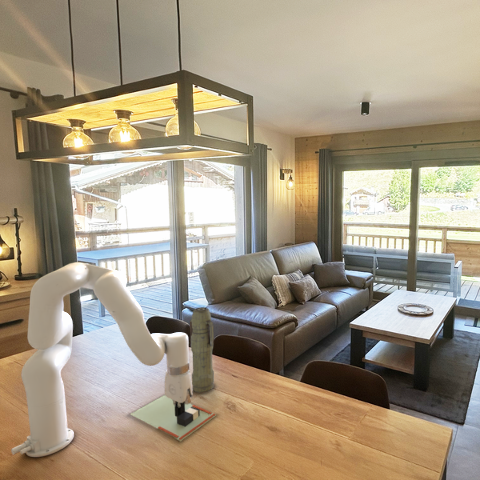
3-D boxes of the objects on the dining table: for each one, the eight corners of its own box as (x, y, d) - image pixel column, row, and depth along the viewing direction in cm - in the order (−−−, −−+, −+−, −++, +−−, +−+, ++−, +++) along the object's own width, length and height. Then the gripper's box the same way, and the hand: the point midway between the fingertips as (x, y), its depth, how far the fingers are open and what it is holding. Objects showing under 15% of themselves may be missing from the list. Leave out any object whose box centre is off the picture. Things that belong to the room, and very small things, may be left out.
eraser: (185, 427, 122) (185, 420, 122) (176, 423, 124) (176, 417, 123) (199, 415, 128) (199, 409, 128) (191, 412, 130) (191, 406, 130)
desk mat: (180, 441, 115) (180, 439, 115) (129, 415, 129) (129, 413, 129) (216, 415, 129) (216, 414, 129) (167, 394, 143) (167, 392, 143)
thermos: (198, 380, 154) (196, 304, 150) (221, 385, 150) (219, 307, 146) (184, 390, 146) (181, 310, 141) (208, 396, 142) (206, 314, 137)
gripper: (155, 367, 125) (157, 414, 127) (183, 377, 118) (185, 427, 120) (173, 358, 132) (175, 403, 134) (201, 368, 124) (202, 415, 127)
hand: (180, 414), depth 127 cm, fingers closed
